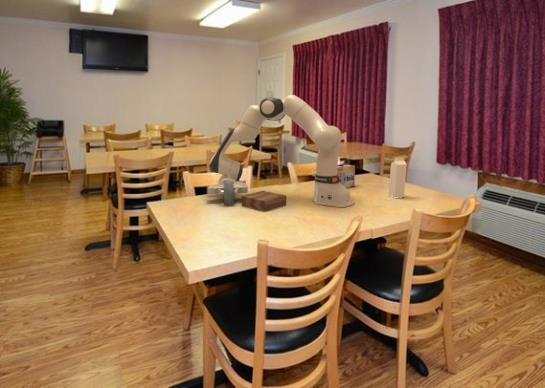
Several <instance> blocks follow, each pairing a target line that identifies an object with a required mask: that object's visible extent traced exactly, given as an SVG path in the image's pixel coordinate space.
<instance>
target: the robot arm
mask: <svg viewBox="0 0 545 388" xmlns="http://www.w3.org/2000/svg"><path fill="white" fill-rule="evenodd" d="M285 116H288V117H289V118H290V119H291V120H292V121H293V122H294V123H295V124H297V126H299V127H300V128H301V129H302V130H303V131H304V132H305V133H306V135H307V136H308V138H310V139H311V141H312V142H313V143H314V145H315V146H316V147H317V148H318V151H317V155H316V160H315V161H316V164H315V165H316V167H315V174H314V183H315V184H314V191H313V195H312V198H311V201H312V202H313V203H314V204H315V205H321V206H322V205H323V206H329V207H335V208H347V207H351V206H353V205H354V203H355V200H352V198H351V193H350V190H349V189H348V188H345V187H344V186H343V185H342V184H341V183H340V179H341V178H342V177H339V176H338V175H337V169H338V165H339V156H340V151H341V143H342V141H341V140H342V132H341V130H340V129H339V127H337V126H334V125H328V124H327V123H326V122H325V121H324V119H323V118H322V117H321V115H320V114H319V113H318V112H317V111H316V110H315V109H314V108H313V107H311V106H310V105H309V104H308V103H306V102H305V101H304V100H303V99H301V98H300V97H299V96H297V95H295V94H288V95H286V96H285V97H284V98H283V99H281V98H275V97H265V98H263V99H262V100H261V101H260V104H259V105H258V104H252V105H249V106H248V108H247V109H246V111H245V113H244V114H243V116H242V118H241V120H240V122H239V124H238V125H237V126H236V127H235V128H231V129H230V130H229V131H228V133H227V134H226V136H225V137H224V139H223V140H222V142H221V144H220V145H219V147H218V148H217V150H216V152H215V153H214V154H213V155H212V157H211V158H210V160H209V162H208V168H209V169H210V170H211V172H212V173H216V174H219V175H221V176H220V177H219V179H218V184H210V185H209V186H207V190H208V195H223V196H224V181H234V195H237V194H248V192H249V191H248V190H249V188H248V185H247V184H246V183H245V182H244V180H240V179H241V177H242V175H243V173H244V172H243V171H244V169H243V165H242V163H241V162H239V161H236V160H233V159H231V158H228V157H226V156H224V154H225V153H226V151H227V150H228V148H229V146H231V144H232V143H234V142H250V141H253V140H254V139H256V138H257V136H258V135H259V133H260V130H261V128H262V125H263V124H264V122H265V121H272V122H278V121H281V120H282V119H284V118H285Z"/></svg>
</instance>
